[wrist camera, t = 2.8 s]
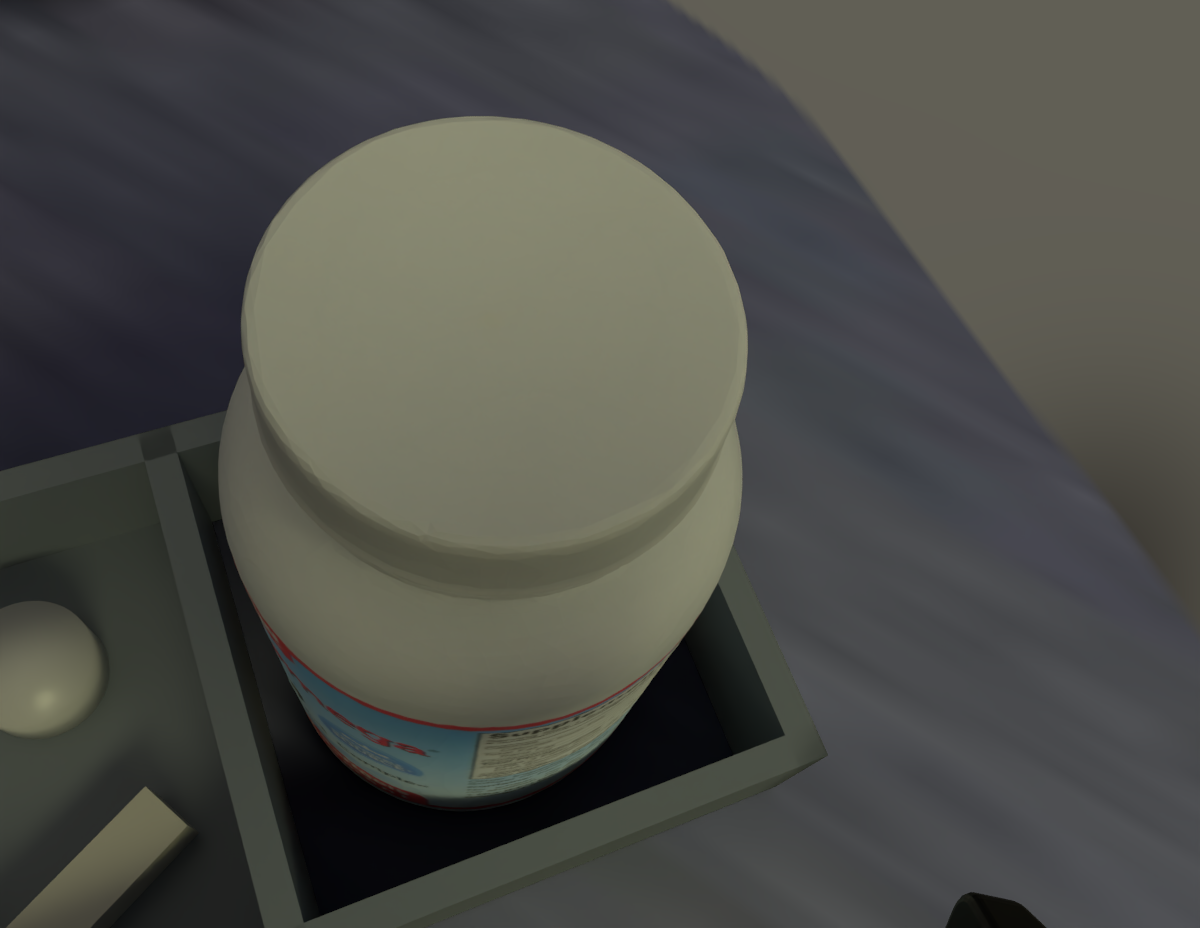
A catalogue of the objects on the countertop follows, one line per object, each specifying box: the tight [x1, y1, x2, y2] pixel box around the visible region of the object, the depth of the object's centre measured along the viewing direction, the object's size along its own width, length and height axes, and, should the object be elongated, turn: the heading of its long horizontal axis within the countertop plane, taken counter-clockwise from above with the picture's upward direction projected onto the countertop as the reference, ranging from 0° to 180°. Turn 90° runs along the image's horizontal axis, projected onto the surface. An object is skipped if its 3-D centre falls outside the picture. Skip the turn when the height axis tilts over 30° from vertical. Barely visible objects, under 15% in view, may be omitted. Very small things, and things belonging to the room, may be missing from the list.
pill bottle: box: [218, 116, 747, 812], centre depth 15 cm, size 6×6×11 cm
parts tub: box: [0, 410, 828, 928], centre depth 17 cm, size 20×8×3 cm, turn 111°
